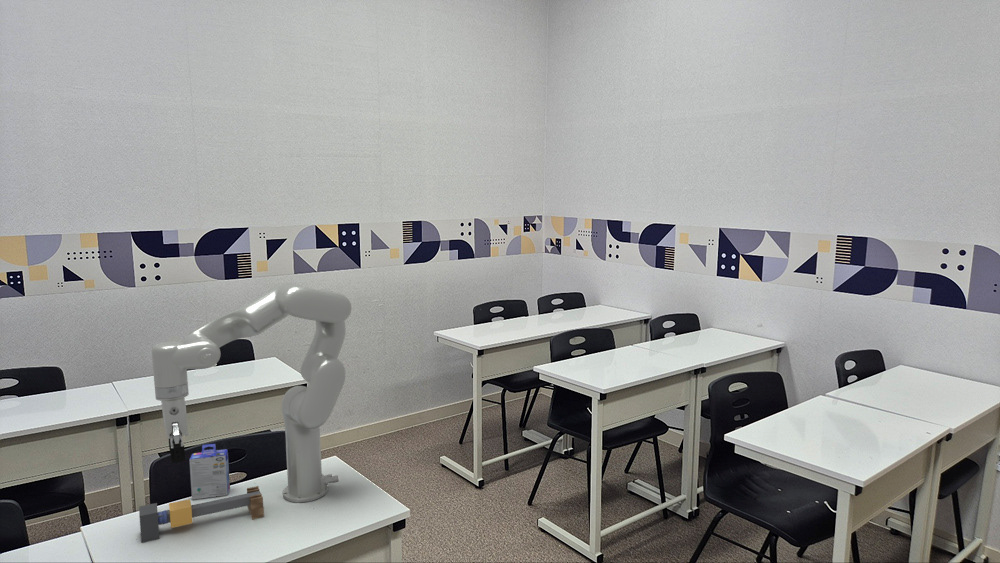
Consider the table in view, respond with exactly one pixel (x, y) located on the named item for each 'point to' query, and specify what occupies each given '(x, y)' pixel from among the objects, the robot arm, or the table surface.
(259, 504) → the brown wooden block
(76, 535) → the table surface
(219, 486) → the ink cartridge box
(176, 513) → the tan sliding collar
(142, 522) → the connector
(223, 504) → the long gray square bar
